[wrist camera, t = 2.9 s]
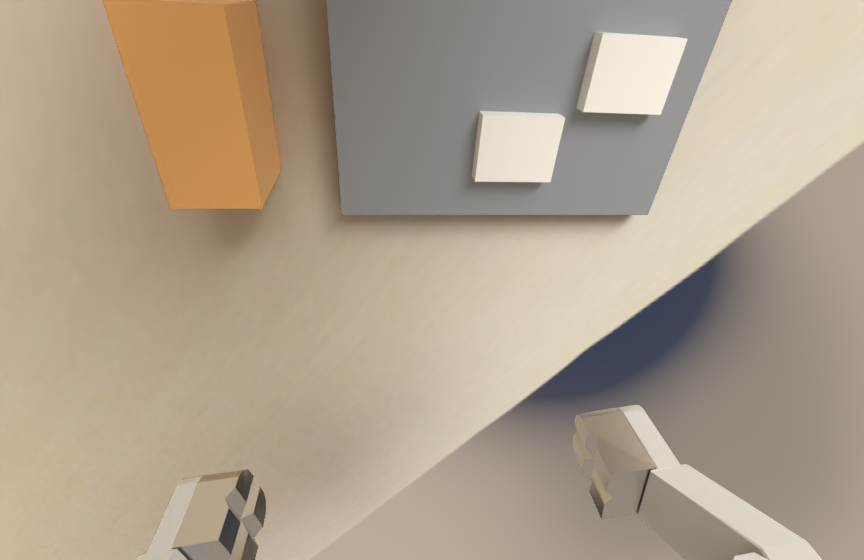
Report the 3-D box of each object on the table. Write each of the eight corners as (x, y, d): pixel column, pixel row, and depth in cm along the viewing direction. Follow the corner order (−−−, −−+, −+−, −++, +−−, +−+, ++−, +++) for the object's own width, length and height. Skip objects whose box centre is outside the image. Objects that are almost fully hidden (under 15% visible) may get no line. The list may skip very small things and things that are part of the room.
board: (342, 205, 28) (341, 215, 27) (324, -55, 20) (322, -58, 19) (636, 206, 31) (647, 214, 30) (721, -21, 23) (740, -22, 22)
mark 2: (576, 108, 25) (583, 112, 24) (594, 31, 23) (603, 33, 22) (651, 110, 26) (660, 114, 25) (677, 36, 23) (687, 38, 23)
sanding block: (281, 168, 27) (262, 208, 22) (207, 167, 26) (170, 208, 21) (256, 0, 22) (223, 4, 17) (163, -5, 21) (100, -4, 16)
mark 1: (471, 175, 27) (475, 181, 26) (479, 110, 24) (483, 115, 24) (545, 176, 27) (550, 182, 27) (559, 113, 25) (565, 117, 24)
